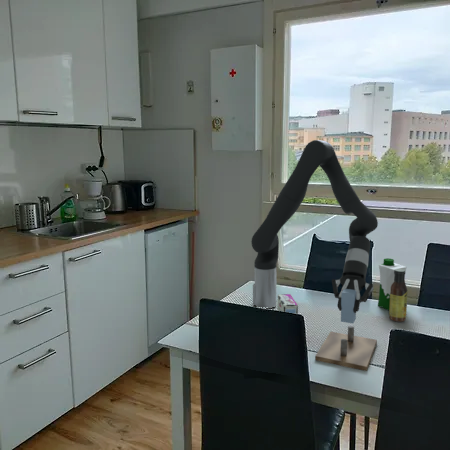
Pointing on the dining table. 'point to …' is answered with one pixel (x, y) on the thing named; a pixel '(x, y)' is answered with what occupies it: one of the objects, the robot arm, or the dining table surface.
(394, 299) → the sauce bottle
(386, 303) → the milk carton
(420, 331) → the dining table surface
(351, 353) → the wooden peg board
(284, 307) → the candy bar box
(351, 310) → the block
